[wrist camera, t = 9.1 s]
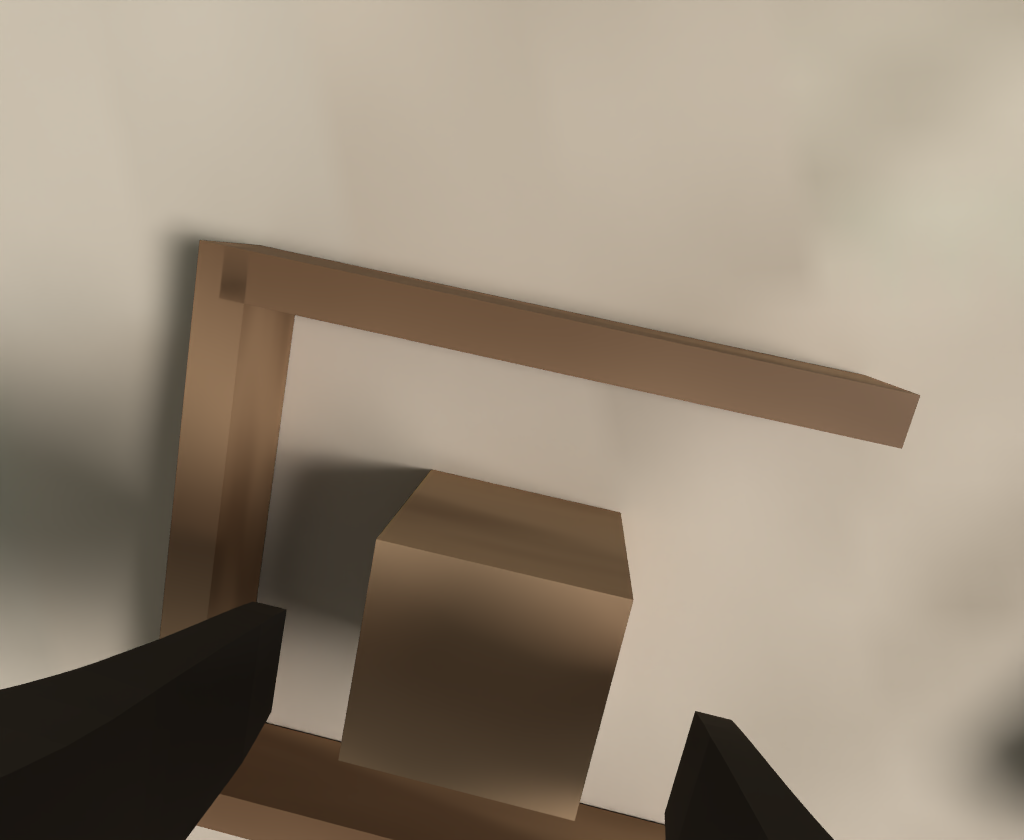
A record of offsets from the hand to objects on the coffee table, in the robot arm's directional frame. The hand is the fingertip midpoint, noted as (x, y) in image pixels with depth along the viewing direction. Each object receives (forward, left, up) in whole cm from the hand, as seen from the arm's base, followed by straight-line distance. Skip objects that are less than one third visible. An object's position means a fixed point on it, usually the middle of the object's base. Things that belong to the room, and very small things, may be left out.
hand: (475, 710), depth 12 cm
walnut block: (0, 0, -5) cm, 5 cm away
